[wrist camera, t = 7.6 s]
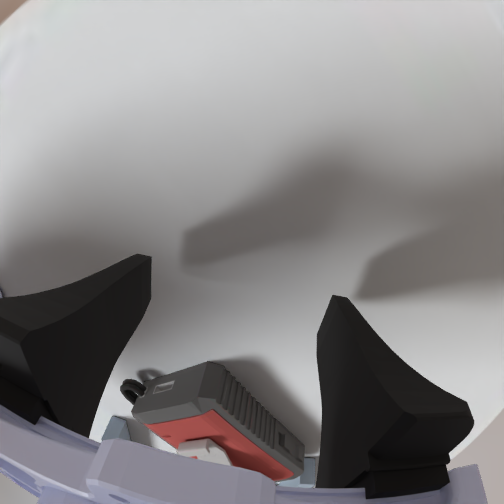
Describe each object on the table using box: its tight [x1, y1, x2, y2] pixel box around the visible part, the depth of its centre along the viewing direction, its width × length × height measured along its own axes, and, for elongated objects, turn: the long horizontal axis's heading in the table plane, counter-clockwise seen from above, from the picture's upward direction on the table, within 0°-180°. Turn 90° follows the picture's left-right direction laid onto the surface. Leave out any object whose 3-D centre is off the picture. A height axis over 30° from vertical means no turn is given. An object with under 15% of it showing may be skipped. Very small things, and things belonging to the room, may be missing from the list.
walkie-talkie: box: [120, 361, 304, 482], centre depth 19 cm, size 9×4×20 cm
